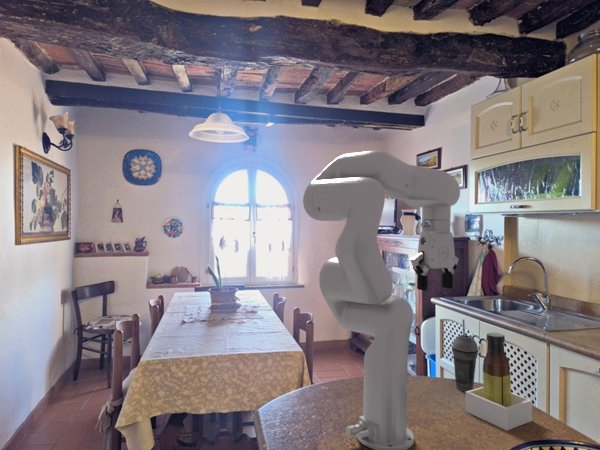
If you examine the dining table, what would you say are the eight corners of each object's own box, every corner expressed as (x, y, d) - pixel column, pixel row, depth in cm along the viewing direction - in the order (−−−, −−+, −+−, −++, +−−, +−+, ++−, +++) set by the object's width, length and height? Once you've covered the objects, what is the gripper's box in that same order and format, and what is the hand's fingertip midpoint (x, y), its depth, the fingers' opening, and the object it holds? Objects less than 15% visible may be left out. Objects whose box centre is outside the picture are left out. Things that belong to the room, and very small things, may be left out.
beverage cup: (457, 393, 113) (458, 323, 113) (447, 383, 120) (448, 317, 121) (482, 393, 113) (483, 323, 114) (470, 383, 121) (471, 317, 121)
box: (506, 430, 92) (506, 409, 92) (465, 411, 102) (465, 391, 102) (531, 420, 97) (532, 400, 98) (490, 403, 107) (490, 384, 107)
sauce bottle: (505, 409, 102) (505, 331, 103) (515, 420, 96) (516, 338, 96) (478, 407, 103) (479, 330, 103) (487, 418, 97) (488, 336, 97)
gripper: (423, 226, 103) (422, 292, 102) (468, 227, 111) (467, 289, 111) (402, 226, 109) (401, 288, 109) (446, 227, 118) (446, 285, 117)
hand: (435, 288), depth 110 cm, fingers open, 9 cm apart
